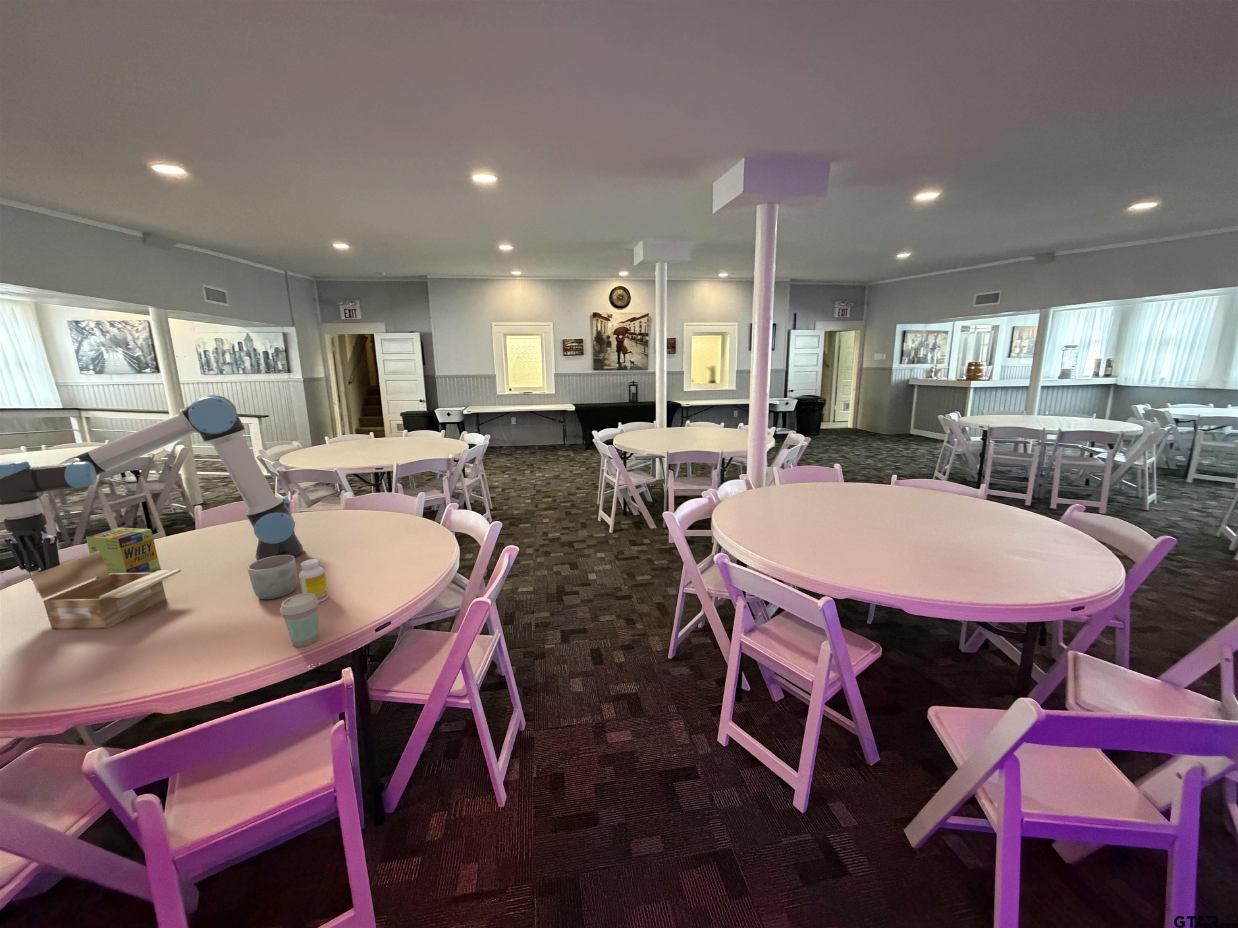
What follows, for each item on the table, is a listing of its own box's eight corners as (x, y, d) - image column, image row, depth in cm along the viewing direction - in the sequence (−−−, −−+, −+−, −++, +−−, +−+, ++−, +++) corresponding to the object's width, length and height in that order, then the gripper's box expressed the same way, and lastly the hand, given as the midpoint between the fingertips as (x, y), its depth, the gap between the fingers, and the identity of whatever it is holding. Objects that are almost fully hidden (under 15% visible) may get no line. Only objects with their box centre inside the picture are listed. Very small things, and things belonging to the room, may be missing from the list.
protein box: (128, 580, 168) (117, 538, 165) (95, 577, 171) (84, 536, 168) (161, 567, 178) (152, 528, 175) (129, 565, 181) (120, 526, 178)
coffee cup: (298, 633, 131) (291, 593, 128) (330, 631, 131) (324, 591, 129) (279, 651, 122) (271, 608, 120) (314, 649, 123) (306, 606, 121)
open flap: (43, 598, 134) (19, 603, 135) (108, 571, 151) (87, 576, 152) (32, 575, 133) (8, 579, 133) (99, 551, 150) (77, 555, 150)
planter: (264, 606, 146) (257, 573, 144) (246, 597, 153) (240, 565, 151) (307, 590, 157) (302, 559, 154) (289, 581, 163) (283, 552, 161)
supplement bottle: (333, 596, 152) (327, 558, 149) (314, 606, 145) (307, 567, 143) (318, 593, 154) (311, 556, 151) (298, 603, 148) (291, 564, 145)
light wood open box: (188, 597, 153) (182, 569, 151) (131, 628, 136) (123, 596, 134) (117, 599, 154) (109, 570, 152) (51, 629, 136) (41, 597, 134)
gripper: (64, 510, 140) (86, 584, 145) (14, 511, 140) (38, 584, 145) (32, 518, 132) (57, 596, 138) (-19, 520, 133) (7, 597, 138)
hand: (47, 590), depth 141 cm, fingers open, 2 cm apart
